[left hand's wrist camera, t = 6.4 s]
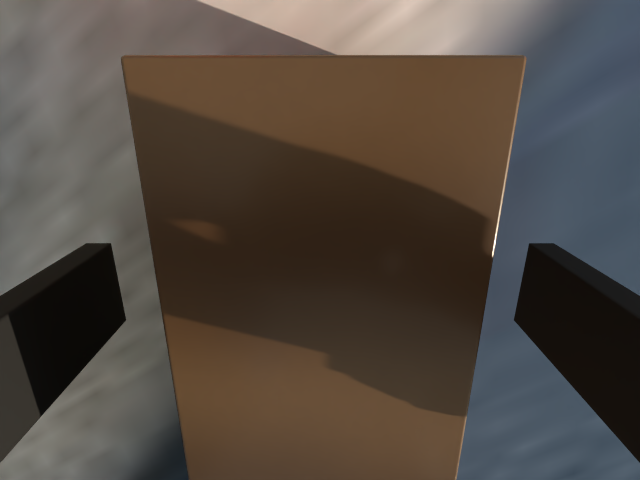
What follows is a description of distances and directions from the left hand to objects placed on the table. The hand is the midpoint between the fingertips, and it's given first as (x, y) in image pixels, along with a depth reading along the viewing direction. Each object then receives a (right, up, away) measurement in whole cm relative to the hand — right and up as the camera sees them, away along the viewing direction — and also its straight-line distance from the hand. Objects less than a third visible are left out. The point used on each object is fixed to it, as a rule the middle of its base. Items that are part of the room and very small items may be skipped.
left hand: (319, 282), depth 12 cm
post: (0, -20, +10) cm, 22 cm away
